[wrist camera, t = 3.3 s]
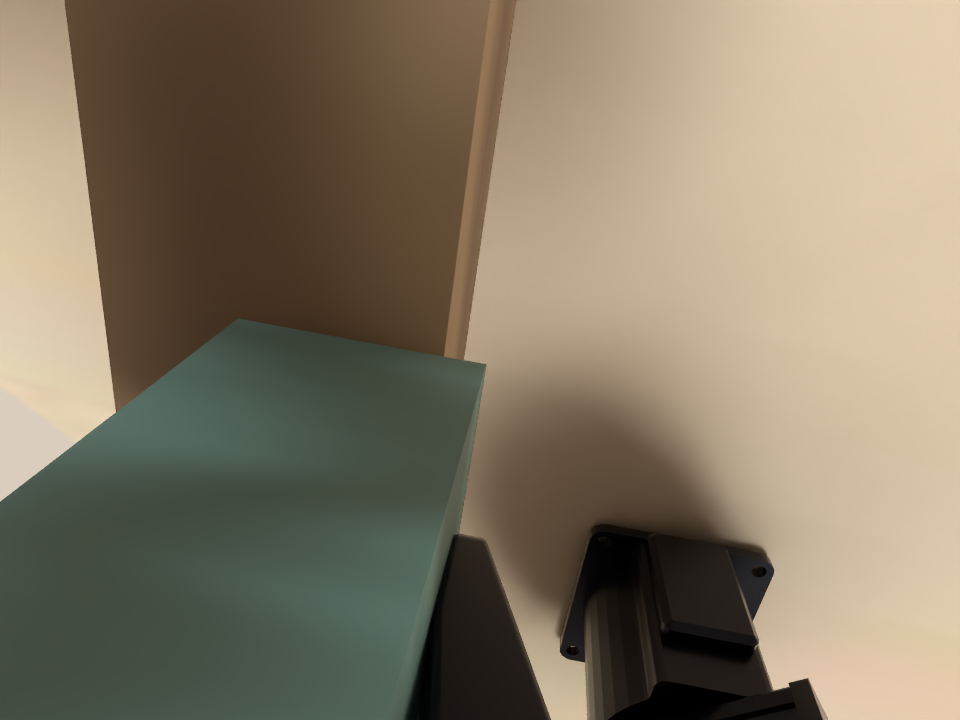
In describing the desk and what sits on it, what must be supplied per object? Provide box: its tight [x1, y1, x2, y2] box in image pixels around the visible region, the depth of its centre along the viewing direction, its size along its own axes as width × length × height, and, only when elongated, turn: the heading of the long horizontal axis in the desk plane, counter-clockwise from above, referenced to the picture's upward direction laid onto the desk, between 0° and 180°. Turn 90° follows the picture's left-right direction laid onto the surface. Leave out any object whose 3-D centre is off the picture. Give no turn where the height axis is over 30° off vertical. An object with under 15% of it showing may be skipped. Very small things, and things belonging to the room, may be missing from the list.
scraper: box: [0, 0, 516, 720], centre depth 8 cm, size 5×14×9 cm, turn 172°
